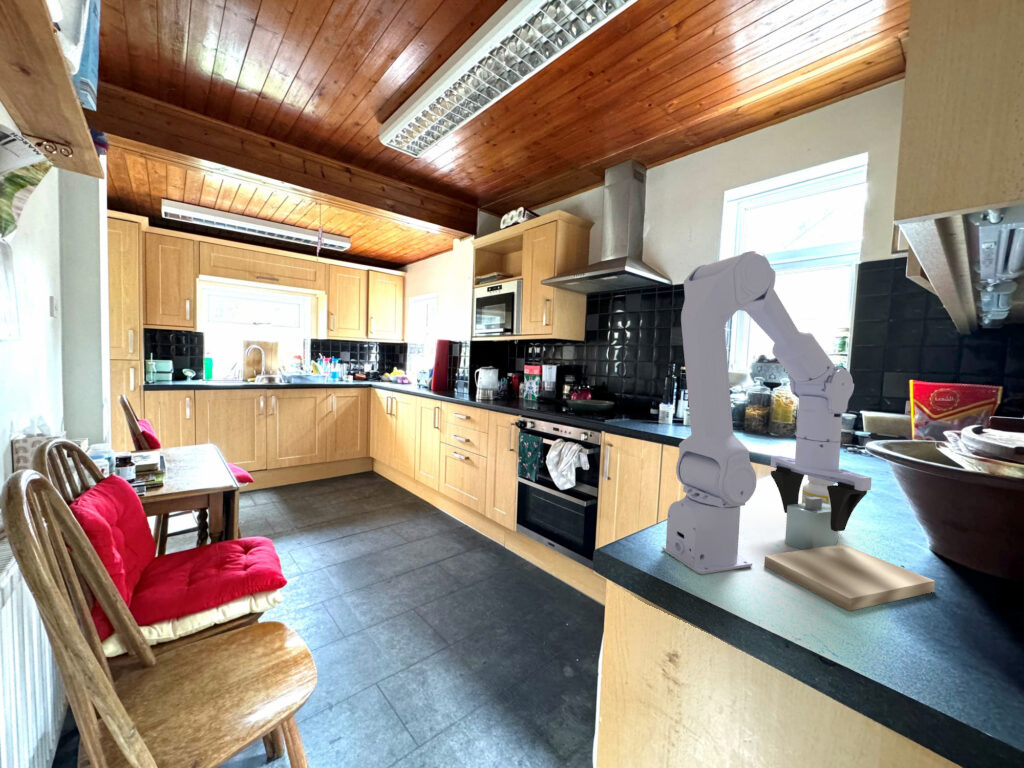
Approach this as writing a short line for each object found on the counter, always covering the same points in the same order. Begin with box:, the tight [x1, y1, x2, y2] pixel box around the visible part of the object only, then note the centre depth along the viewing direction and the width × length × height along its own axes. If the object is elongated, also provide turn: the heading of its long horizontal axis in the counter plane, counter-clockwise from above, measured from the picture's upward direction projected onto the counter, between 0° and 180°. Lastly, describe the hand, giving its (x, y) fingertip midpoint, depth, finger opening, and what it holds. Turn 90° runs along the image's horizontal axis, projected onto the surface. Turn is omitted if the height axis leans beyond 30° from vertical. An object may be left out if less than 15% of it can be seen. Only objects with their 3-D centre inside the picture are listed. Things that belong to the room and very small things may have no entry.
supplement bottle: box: [801, 475, 836, 505], centre depth 73 cm, size 5×5×10 cm
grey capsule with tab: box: [784, 497, 839, 550], centre depth 66 cm, size 9×4×8 cm, turn 108°
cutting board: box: [763, 543, 936, 612], centre depth 55 cm, size 16×11×2 cm
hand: (812, 520), depth 66 cm, fingers open, 7 cm apart
